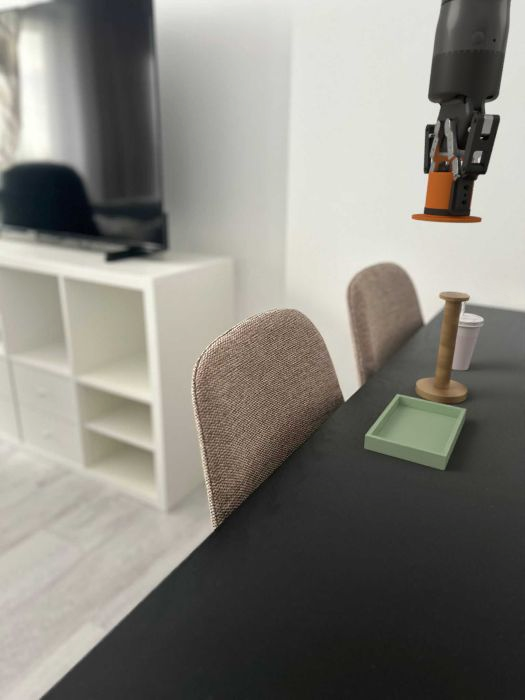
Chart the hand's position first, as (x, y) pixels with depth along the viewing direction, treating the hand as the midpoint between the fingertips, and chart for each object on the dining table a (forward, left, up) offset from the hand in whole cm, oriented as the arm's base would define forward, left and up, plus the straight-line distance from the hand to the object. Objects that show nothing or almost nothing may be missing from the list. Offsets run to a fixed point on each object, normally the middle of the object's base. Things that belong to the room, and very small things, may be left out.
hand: (446, 212), depth 62 cm
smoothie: (-17, -24, -30) cm, 42 cm away
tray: (0, +1, -30) cm, 30 cm away
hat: (0, 0, -1) cm, 1 cm away
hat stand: (-9, -13, -30) cm, 34 cm away
